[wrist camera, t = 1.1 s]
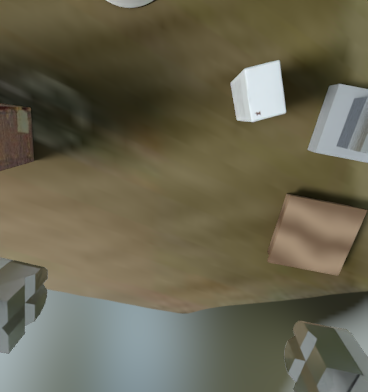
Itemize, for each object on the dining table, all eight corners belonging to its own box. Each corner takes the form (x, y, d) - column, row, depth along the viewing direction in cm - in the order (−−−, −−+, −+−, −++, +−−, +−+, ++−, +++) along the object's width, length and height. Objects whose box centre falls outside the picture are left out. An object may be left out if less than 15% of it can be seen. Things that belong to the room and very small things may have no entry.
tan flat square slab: (284, 190, 44) (290, 195, 42) (356, 204, 45) (367, 210, 42) (264, 253, 49) (268, 262, 46) (329, 266, 49) (338, 275, 46)
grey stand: (329, 85, 39) (339, 83, 36) (392, 98, 39) (407, 97, 36) (307, 149, 42) (315, 152, 39) (365, 161, 42) (378, 164, 39)
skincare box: (262, 114, 41) (287, 114, 29) (236, 120, 41) (250, 123, 30) (256, 74, 39) (281, 58, 28) (229, 81, 40) (242, 68, 28)
